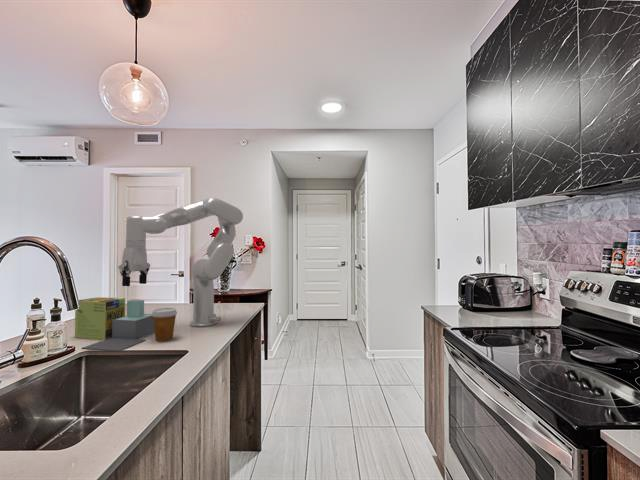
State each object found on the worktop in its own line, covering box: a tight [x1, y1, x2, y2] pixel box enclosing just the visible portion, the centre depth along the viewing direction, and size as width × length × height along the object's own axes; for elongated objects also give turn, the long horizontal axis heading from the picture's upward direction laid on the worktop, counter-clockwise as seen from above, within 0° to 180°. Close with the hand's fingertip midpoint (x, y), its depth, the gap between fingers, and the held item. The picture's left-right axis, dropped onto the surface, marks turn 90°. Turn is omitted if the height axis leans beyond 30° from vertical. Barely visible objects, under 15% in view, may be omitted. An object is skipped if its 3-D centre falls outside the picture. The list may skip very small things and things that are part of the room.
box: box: [112, 315, 155, 339], centre depth 141 cm, size 11×13×8 cm
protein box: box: [74, 296, 126, 341], centre depth 140 cm, size 10×15×16 cm
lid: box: [115, 299, 152, 321], centre depth 141 cm, size 10×12×8 cm
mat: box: [81, 338, 147, 353], centre depth 128 cm, size 16×14×1 cm
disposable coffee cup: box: [151, 307, 178, 342], centre depth 135 cm, size 10×10×12 cm
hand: (134, 284), depth 141 cm, fingers open, 9 cm apart
